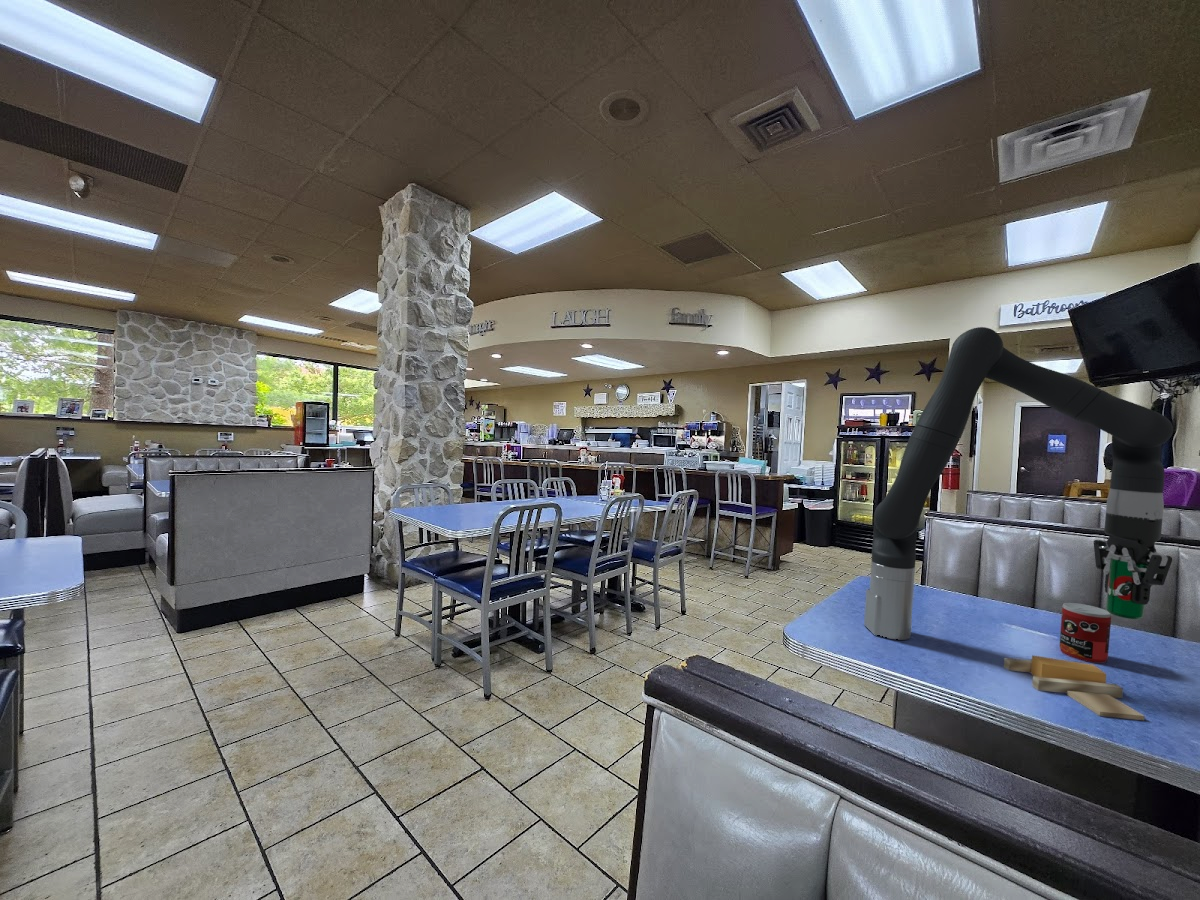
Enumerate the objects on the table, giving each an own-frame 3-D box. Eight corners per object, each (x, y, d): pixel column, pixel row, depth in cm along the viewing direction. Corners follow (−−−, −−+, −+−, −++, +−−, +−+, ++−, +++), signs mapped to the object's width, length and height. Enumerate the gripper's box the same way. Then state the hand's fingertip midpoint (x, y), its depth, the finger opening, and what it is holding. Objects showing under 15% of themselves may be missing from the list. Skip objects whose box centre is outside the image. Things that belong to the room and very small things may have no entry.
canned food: (1049, 648, 114) (1053, 602, 114) (1080, 648, 115) (1084, 602, 114) (1085, 663, 107) (1088, 614, 106) (1117, 663, 107) (1121, 614, 107)
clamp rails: (1038, 690, 94) (1038, 680, 94) (1003, 666, 104) (1004, 657, 103) (1122, 698, 92) (1122, 688, 92) (1079, 673, 102) (1080, 664, 102)
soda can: (1150, 621, 93) (1156, 560, 92) (1119, 618, 94) (1125, 557, 94) (1128, 612, 98) (1134, 553, 97) (1098, 609, 99) (1104, 551, 98)
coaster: (1099, 715, 86) (1100, 711, 86) (1067, 694, 93) (1067, 690, 93) (1144, 720, 85) (1144, 715, 85) (1108, 698, 92) (1108, 694, 92)
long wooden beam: (1040, 683, 98) (1042, 663, 97) (1030, 674, 101) (1032, 655, 101) (1104, 694, 94) (1106, 673, 94) (1092, 684, 98) (1093, 664, 98)
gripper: (1081, 506, 103) (1074, 585, 103) (1147, 518, 89) (1138, 610, 89) (1121, 509, 102) (1114, 588, 102) (1194, 521, 87) (1185, 614, 88)
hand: (1125, 598), depth 96 cm, fingers closed on soda can, 5 cm apart
